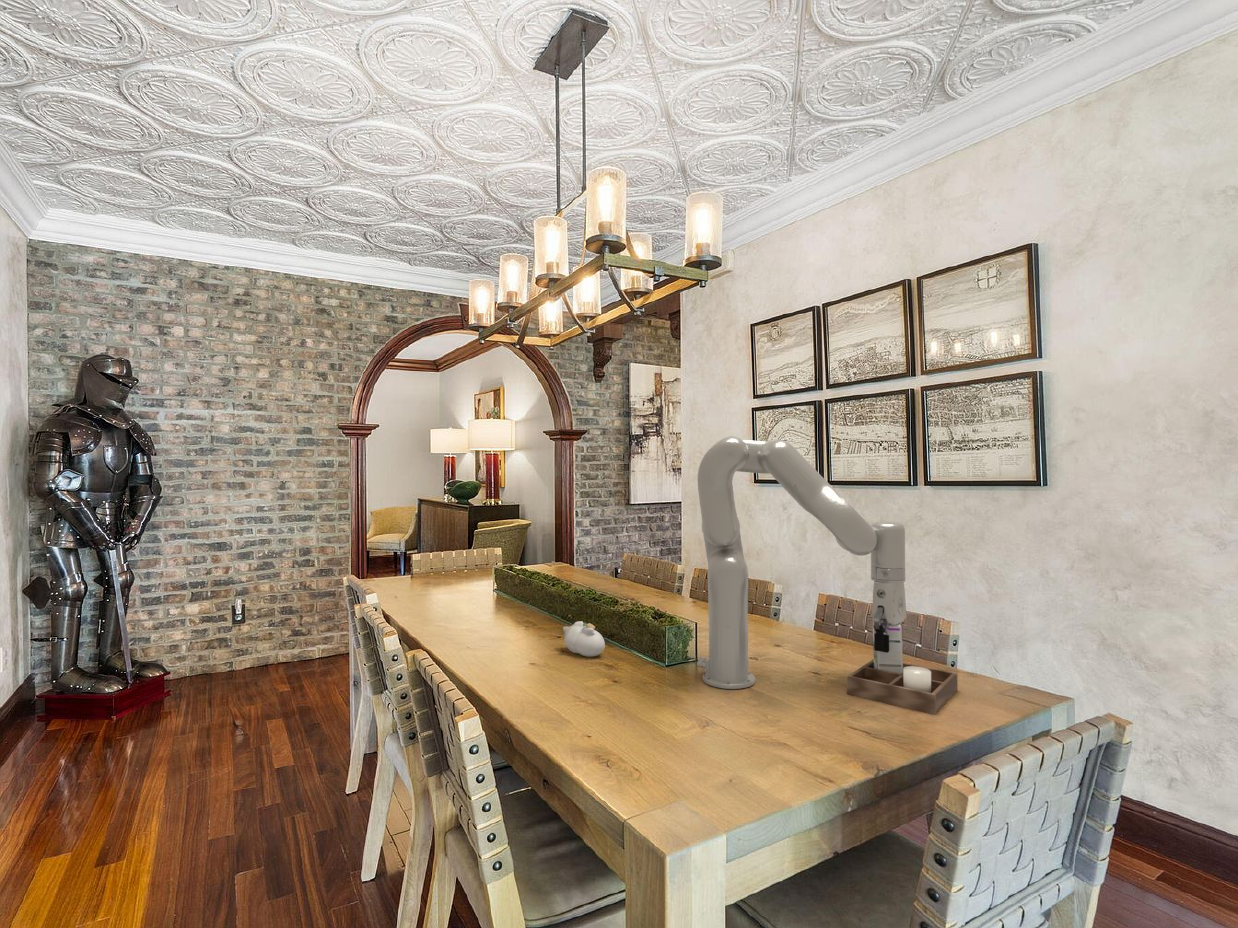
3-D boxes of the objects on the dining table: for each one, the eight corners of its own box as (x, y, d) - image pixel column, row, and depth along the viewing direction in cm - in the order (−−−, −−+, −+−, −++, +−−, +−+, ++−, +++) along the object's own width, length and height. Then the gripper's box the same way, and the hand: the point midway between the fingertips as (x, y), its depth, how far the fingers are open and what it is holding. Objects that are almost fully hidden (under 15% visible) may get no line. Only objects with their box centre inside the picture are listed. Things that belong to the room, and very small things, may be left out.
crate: (847, 698, 144) (847, 676, 144) (875, 677, 158) (875, 657, 158) (935, 719, 132) (934, 694, 132) (957, 694, 146) (957, 672, 146)
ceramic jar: (900, 702, 138) (899, 670, 138) (908, 695, 142) (907, 664, 142) (927, 709, 135) (926, 675, 135) (934, 701, 139) (934, 669, 139)
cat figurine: (606, 624, 176) (568, 610, 186) (587, 644, 171) (550, 628, 181) (615, 649, 180) (578, 634, 190) (598, 669, 175) (560, 652, 185)
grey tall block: (904, 687, 147) (903, 625, 148) (877, 686, 149) (876, 624, 149) (898, 679, 153) (897, 619, 153) (872, 678, 154) (871, 618, 154)
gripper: (892, 581, 142) (892, 658, 142) (915, 571, 155) (916, 642, 155) (858, 577, 147) (859, 652, 147) (884, 568, 160) (884, 636, 160)
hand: (888, 646), depth 151 cm, fingers open, 8 cm apart
